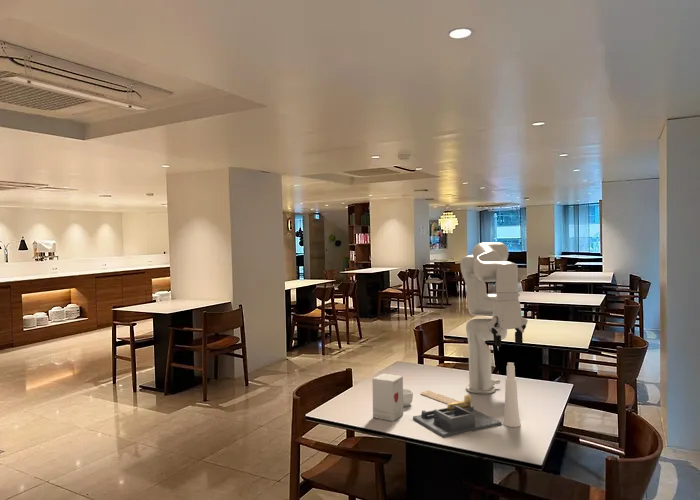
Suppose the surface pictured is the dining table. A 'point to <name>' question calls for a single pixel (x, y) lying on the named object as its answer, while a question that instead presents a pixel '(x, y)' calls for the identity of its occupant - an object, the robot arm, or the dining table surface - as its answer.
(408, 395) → the teacup
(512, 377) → the cosmetic bottle
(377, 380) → the supplement box
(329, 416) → the dining table surface
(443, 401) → the newspaper
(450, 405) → the wooden block
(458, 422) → the cradle
